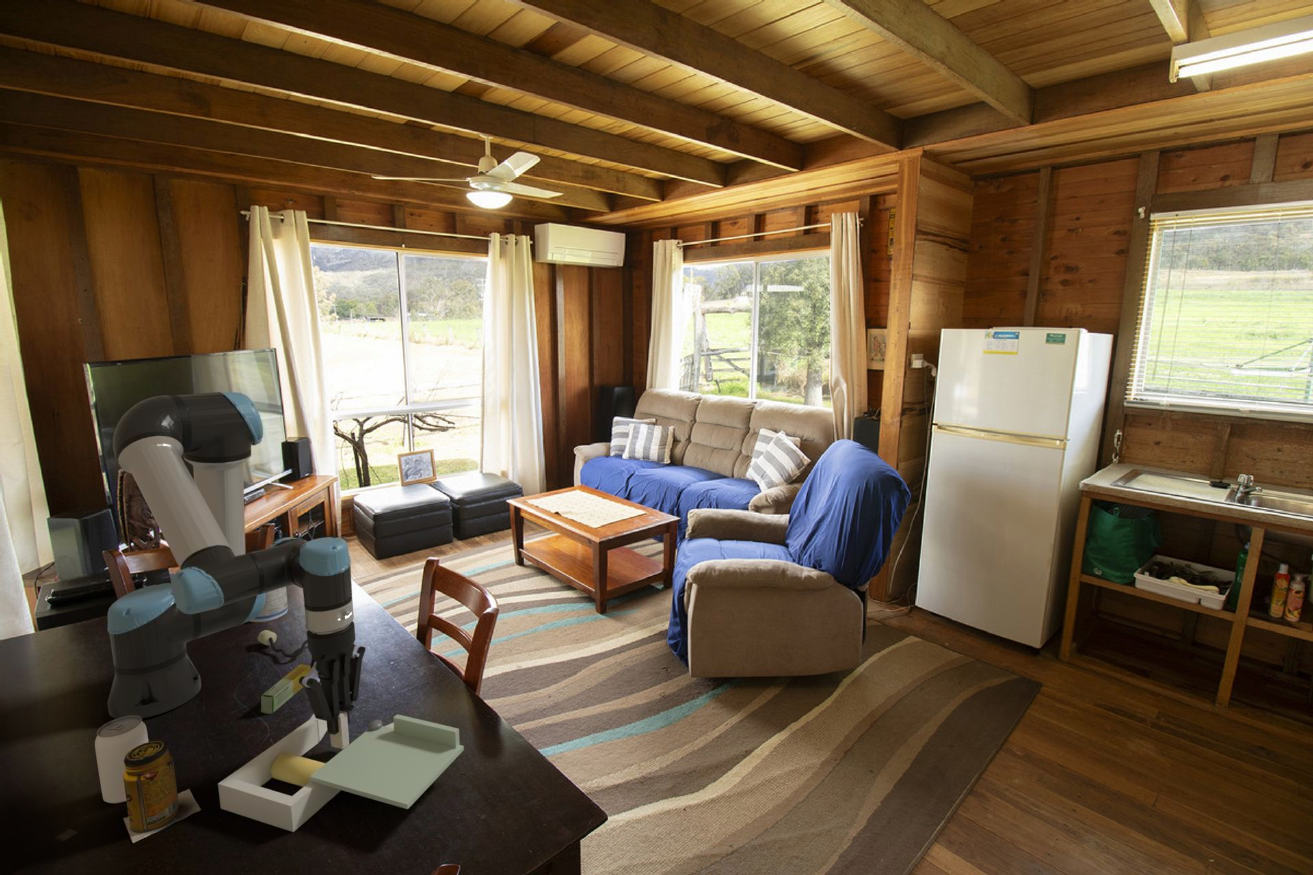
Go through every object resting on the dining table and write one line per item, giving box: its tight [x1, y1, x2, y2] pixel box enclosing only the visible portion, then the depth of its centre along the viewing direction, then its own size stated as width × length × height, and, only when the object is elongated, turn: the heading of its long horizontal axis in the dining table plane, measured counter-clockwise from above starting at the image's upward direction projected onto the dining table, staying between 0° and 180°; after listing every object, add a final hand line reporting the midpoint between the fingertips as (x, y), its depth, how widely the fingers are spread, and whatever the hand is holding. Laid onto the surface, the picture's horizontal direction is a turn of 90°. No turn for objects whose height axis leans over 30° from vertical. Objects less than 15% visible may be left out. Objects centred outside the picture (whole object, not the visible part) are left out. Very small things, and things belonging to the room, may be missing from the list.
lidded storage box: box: [217, 713, 394, 833], centre depth 106 cm, size 22×19×4 cm
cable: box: [257, 629, 308, 658], centre depth 150 cm, size 16×16×4 cm
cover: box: [310, 713, 465, 810], centre depth 101 cm, size 15×20×4 cm
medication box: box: [260, 664, 311, 715], centre depth 128 cm, size 12×3×4 cm, turn 175°
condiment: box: [123, 740, 202, 844], centre depth 95 cm, size 7×8×12 cm
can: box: [94, 715, 149, 804], centre depth 100 cm, size 6×6×12 cm
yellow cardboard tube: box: [271, 753, 326, 788], centre depth 104 cm, size 10×4×4 cm, turn 72°
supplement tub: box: [249, 586, 289, 623], centre depth 164 cm, size 10×10×15 cm
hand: (340, 744), depth 111 cm, fingers closed
